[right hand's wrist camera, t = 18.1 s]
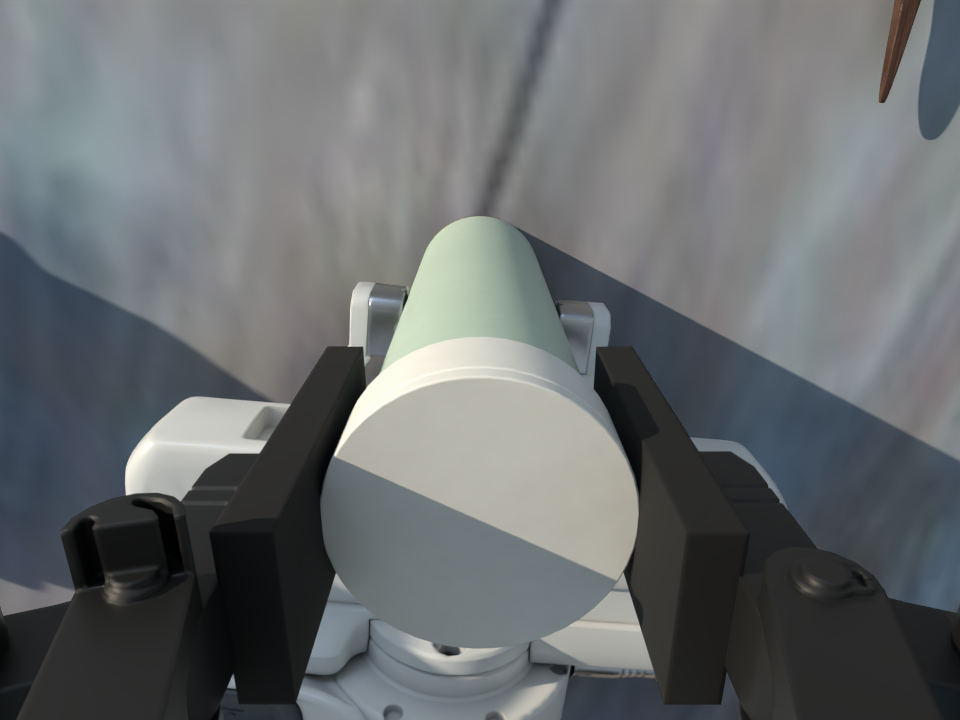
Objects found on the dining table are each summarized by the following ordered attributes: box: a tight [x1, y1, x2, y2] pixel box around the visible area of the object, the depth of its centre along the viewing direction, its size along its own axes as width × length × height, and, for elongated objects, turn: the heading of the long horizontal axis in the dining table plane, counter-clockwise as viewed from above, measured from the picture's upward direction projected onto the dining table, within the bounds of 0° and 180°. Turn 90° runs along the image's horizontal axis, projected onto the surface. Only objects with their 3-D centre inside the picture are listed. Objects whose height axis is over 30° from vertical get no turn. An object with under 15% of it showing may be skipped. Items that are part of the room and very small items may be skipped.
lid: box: [320, 337, 639, 649], centre depth 11 cm, size 5×5×2 cm
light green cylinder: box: [379, 216, 581, 375], centre depth 18 cm, size 4×4×16 cm
